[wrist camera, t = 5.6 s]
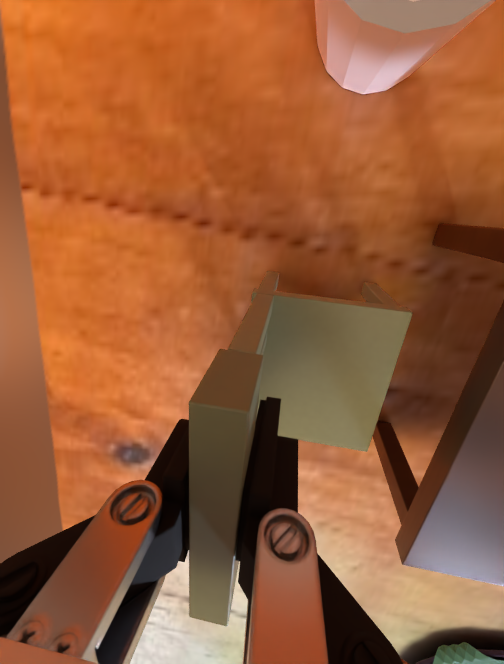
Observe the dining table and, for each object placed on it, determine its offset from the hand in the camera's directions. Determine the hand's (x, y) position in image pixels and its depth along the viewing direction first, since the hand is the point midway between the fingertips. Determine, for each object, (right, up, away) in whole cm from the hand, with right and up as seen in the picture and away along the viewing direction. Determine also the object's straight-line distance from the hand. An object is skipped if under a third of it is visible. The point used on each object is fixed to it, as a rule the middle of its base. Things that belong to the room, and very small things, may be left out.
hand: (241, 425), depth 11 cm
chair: (+4, +3, +9) cm, 10 cm away
